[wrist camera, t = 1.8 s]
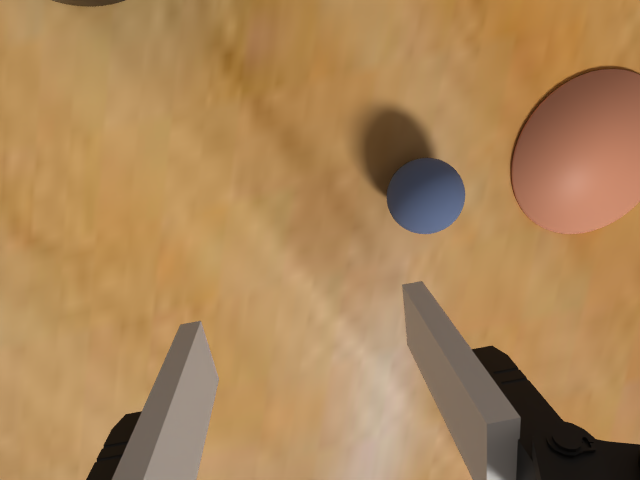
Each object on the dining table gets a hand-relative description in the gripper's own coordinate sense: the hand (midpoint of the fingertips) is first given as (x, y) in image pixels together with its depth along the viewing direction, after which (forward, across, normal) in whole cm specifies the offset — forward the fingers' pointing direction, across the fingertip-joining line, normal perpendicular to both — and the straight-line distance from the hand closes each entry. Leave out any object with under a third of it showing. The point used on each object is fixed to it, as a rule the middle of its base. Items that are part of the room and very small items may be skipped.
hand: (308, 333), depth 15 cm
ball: (+14, +10, 0) cm, 17 cm away
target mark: (+17, +24, 0) cm, 30 cm away
